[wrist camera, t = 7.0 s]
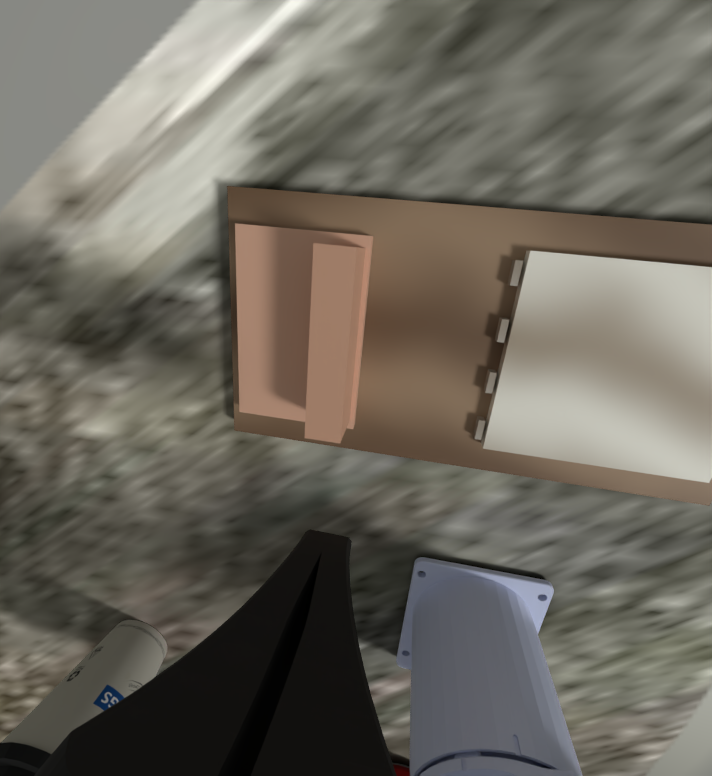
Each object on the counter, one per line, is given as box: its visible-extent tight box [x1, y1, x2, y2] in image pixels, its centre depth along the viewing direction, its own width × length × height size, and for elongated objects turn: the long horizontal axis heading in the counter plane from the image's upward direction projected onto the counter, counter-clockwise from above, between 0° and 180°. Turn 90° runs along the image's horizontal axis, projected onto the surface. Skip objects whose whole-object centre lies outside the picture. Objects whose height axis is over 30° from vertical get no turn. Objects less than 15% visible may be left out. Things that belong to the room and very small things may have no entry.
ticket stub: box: [235, 223, 373, 443], centre depth 16 cm, size 9×6×3 cm, turn 175°
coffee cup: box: [0, 620, 167, 776], centre depth 25 cm, size 7×7×10 cm
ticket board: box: [227, 186, 712, 506], centre depth 17 cm, size 12×24×2 cm, turn 85°
